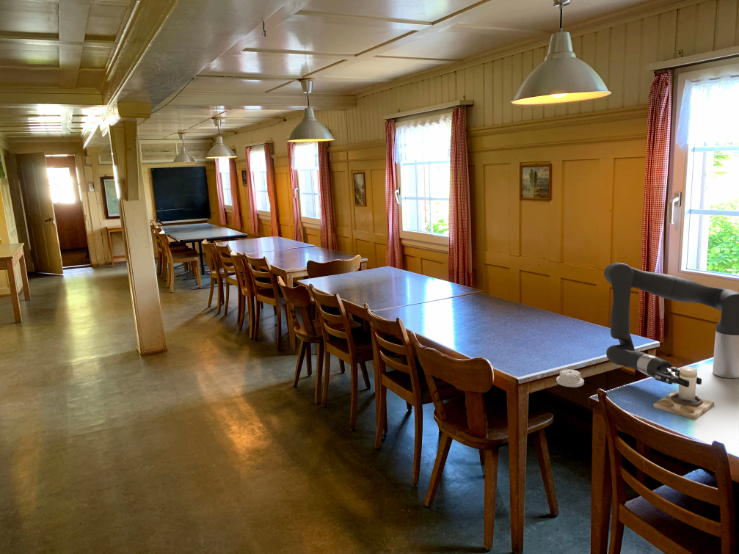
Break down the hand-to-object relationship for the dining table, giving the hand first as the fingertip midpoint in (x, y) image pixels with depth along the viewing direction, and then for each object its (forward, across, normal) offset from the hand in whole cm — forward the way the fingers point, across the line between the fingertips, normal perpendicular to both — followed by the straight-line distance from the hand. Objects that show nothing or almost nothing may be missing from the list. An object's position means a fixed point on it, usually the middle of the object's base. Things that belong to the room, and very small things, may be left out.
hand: (694, 383), depth 180 cm
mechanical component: (-35, -22, +9) cm, 43 cm away
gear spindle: (-3, 0, +6) cm, 7 cm away
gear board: (-2, -2, +9) cm, 9 cm away
